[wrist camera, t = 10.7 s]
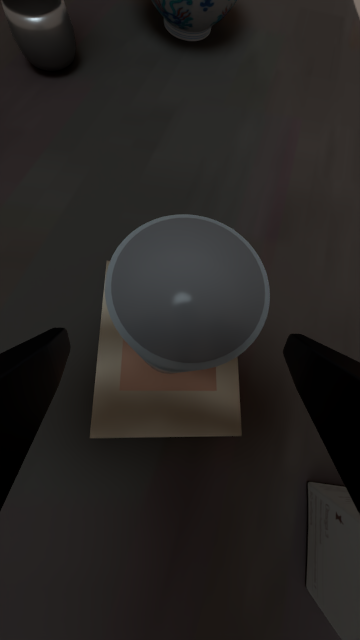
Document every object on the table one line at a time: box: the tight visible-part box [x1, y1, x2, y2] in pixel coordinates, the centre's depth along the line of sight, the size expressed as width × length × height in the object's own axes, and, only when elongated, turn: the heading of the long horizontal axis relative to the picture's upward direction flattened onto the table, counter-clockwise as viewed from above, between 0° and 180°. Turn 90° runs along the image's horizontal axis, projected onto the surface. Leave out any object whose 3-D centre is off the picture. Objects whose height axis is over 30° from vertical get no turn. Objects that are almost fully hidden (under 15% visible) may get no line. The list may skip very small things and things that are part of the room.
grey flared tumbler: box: [105, 214, 270, 374], centre depth 13 cm, size 5×5×13 cm
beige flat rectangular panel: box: [90, 261, 242, 438], centre depth 20 cm, size 15×12×1 cm
